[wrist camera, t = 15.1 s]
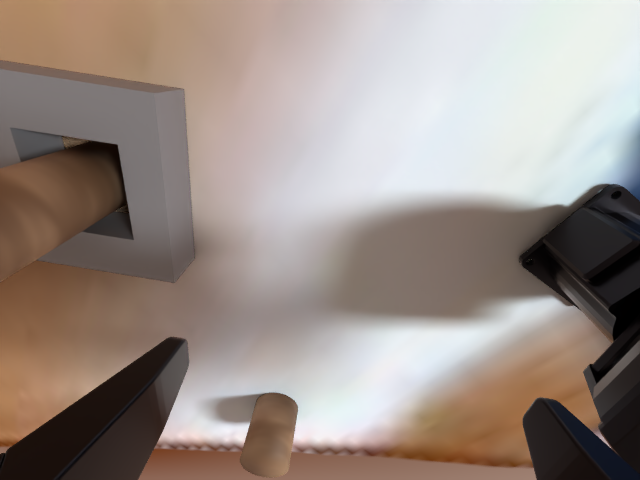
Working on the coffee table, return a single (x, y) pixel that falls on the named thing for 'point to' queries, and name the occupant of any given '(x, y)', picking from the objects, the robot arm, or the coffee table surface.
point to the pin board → (135, 155)
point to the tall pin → (56, 200)
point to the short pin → (270, 436)
